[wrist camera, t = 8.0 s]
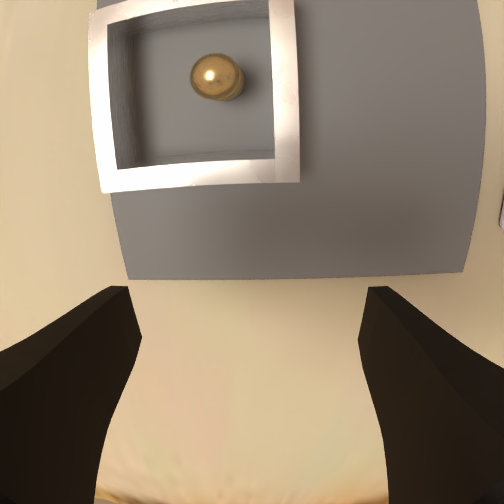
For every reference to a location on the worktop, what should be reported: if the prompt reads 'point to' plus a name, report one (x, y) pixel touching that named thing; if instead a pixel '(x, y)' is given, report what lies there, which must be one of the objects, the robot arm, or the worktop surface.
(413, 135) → the board
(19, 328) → the worktop surface
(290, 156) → the square storage bin
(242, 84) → the post
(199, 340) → the worktop surface
